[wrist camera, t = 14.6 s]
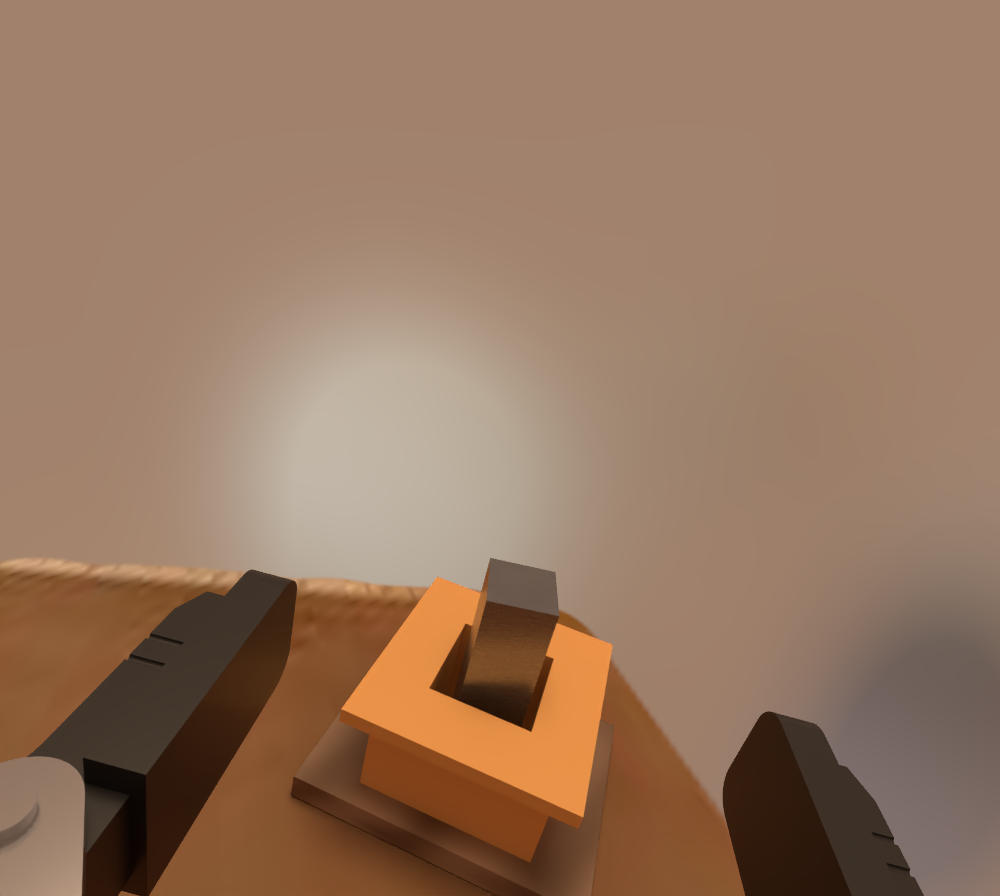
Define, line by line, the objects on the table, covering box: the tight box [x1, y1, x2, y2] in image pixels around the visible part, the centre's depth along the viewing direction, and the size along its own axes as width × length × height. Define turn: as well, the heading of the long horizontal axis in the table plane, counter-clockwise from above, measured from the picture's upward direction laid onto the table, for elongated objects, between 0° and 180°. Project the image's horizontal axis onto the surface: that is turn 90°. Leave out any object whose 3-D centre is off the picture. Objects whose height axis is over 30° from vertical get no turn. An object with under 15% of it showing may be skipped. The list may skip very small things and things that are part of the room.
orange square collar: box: [339, 577, 612, 863], centre depth 33 cm, size 12×12×6 cm
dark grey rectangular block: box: [453, 558, 559, 727], centre depth 32 cm, size 4×4×12 cm
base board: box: [291, 696, 614, 896], centre depth 34 cm, size 16×12×2 cm
